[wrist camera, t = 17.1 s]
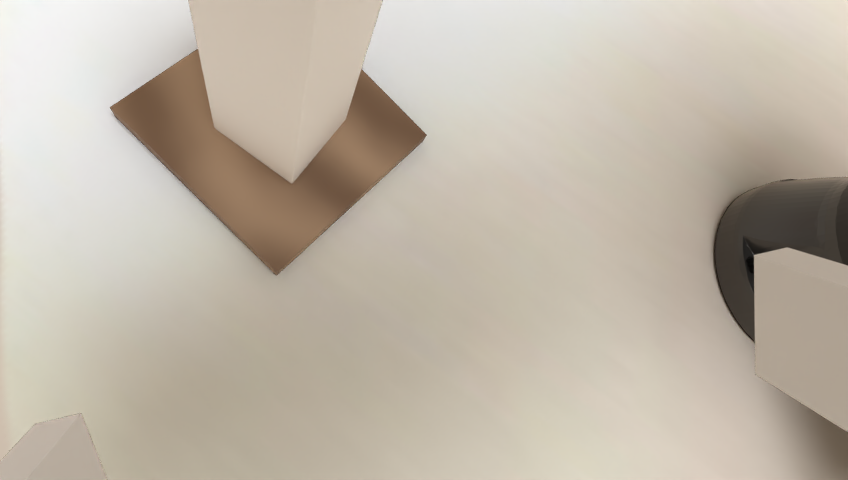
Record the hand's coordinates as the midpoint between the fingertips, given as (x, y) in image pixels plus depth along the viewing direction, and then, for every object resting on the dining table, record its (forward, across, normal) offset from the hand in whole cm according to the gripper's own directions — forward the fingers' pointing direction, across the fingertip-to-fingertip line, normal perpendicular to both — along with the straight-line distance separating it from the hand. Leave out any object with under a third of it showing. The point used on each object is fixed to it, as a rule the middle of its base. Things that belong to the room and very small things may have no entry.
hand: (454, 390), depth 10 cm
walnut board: (+29, -5, +5) cm, 29 cm away
